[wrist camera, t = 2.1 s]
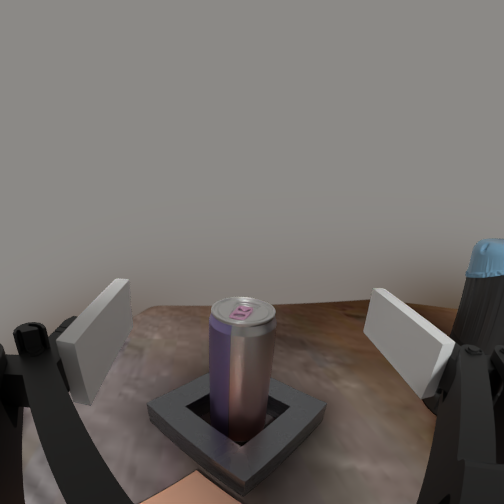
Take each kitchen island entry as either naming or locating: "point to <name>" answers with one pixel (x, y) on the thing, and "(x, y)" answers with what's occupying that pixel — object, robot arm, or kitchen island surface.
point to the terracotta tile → (192, 492)
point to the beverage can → (240, 365)
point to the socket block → (224, 449)
